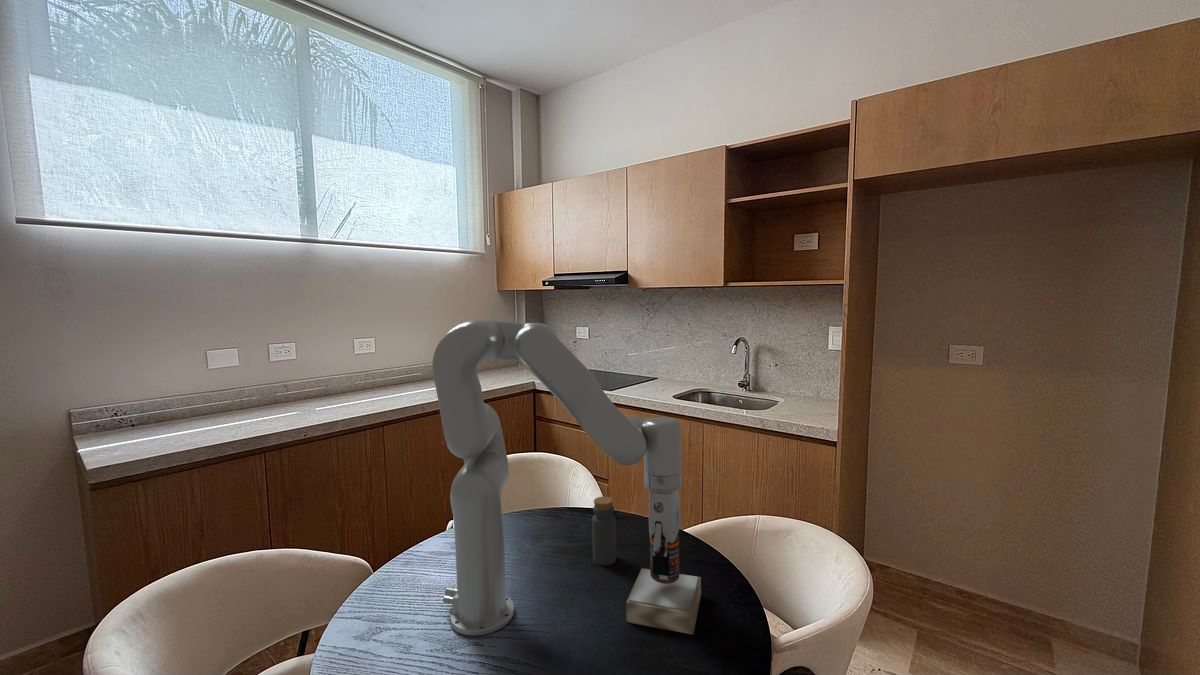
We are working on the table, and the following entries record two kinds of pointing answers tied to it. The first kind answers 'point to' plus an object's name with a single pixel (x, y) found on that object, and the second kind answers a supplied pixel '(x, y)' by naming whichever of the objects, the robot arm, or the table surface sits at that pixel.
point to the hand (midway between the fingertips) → (664, 564)
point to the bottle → (604, 531)
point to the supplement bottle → (673, 562)
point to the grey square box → (664, 602)
